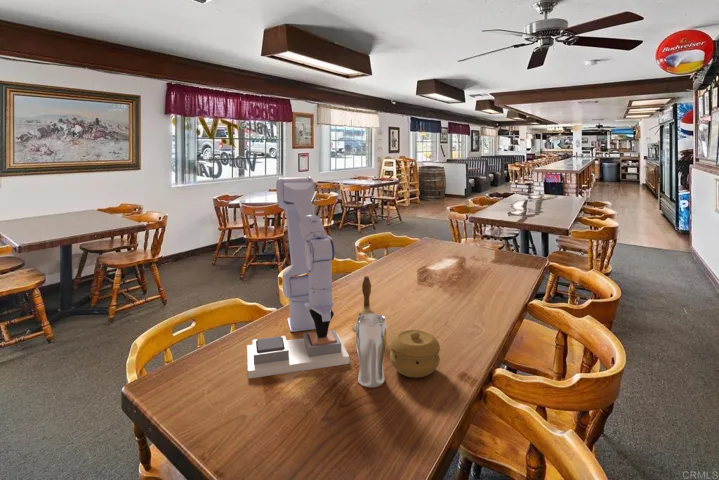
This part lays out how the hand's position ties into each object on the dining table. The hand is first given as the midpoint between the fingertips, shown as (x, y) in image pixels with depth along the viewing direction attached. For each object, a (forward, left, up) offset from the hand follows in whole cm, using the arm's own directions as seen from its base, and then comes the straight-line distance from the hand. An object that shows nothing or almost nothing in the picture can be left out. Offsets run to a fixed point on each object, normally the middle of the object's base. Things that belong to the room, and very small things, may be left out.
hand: (322, 336), depth 104 cm
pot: (+14, +19, -5) cm, 25 cm away
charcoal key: (0, -13, -4) cm, 14 cm away
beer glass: (+15, +8, -5) cm, 18 cm away
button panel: (0, -7, -5) cm, 8 cm away
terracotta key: (0, 0, -4) cm, 4 cm away
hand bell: (-12, +15, -5) cm, 20 cm away
